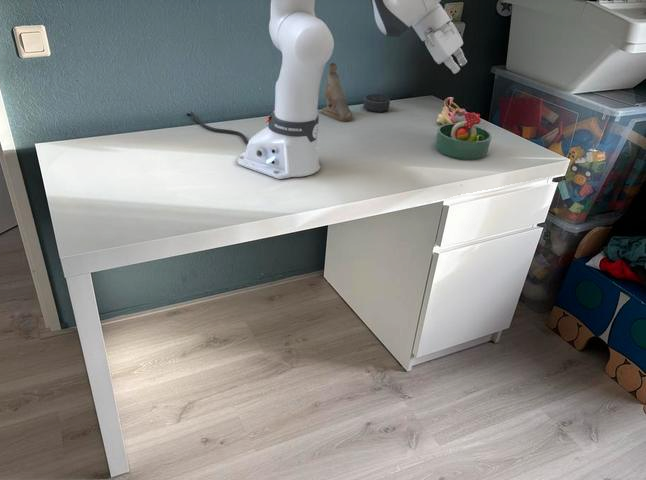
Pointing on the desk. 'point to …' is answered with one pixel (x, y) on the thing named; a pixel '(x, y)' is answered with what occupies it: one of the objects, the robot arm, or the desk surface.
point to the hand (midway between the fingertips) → (461, 68)
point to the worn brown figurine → (336, 98)
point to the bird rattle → (469, 124)
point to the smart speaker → (376, 103)
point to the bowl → (462, 143)
